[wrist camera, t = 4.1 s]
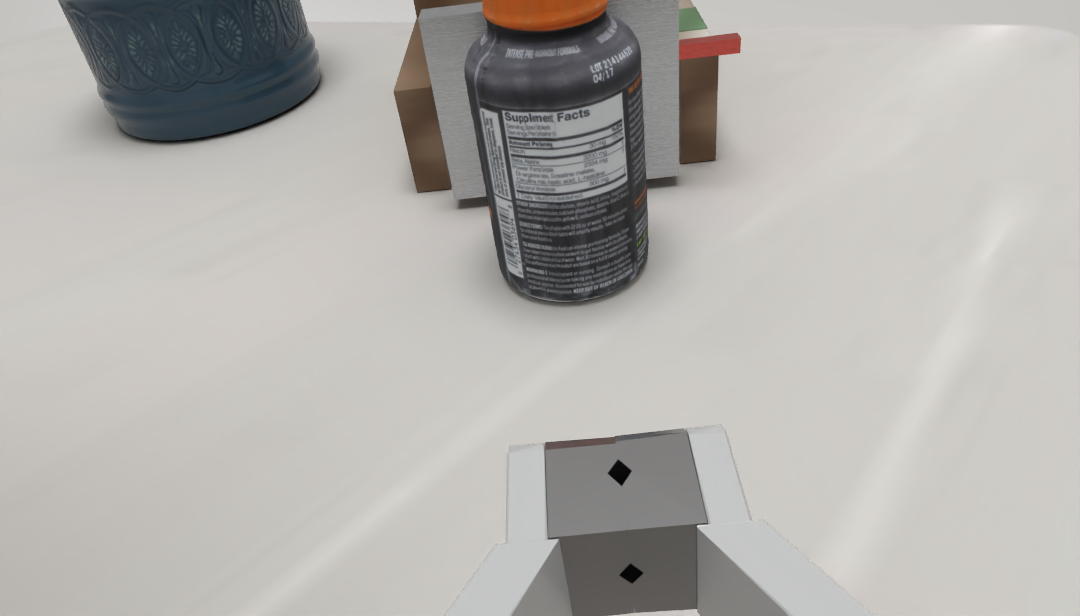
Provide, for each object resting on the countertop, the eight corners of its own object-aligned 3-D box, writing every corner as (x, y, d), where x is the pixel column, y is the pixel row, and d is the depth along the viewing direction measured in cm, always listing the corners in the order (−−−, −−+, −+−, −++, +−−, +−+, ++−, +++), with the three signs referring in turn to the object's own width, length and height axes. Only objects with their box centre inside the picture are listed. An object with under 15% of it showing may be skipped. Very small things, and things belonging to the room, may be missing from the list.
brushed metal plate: (454, 199, 35) (418, 19, 30) (456, 186, 36) (421, 9, 31) (736, 169, 34) (745, -20, 30) (730, 156, 35) (738, -29, 30)
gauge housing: (417, 192, 37) (365, -30, 31) (440, 78, 48) (405, -101, 42) (715, 159, 36) (722, -74, 30) (669, 52, 47) (667, -135, 41)
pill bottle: (547, 210, 34) (514, -67, 28) (673, 237, 32) (671, -63, 25) (470, 285, 31) (408, -15, 24) (605, 324, 28) (580, -3, 21)
